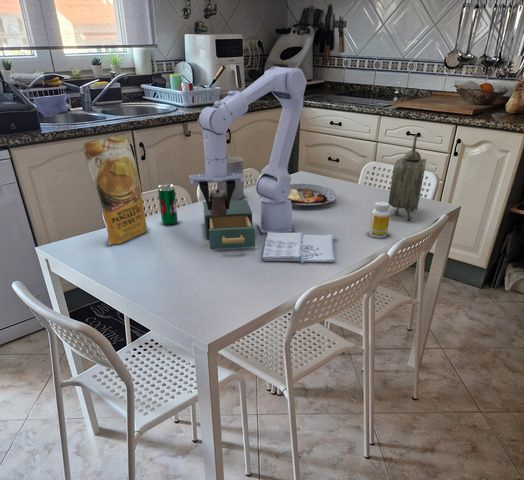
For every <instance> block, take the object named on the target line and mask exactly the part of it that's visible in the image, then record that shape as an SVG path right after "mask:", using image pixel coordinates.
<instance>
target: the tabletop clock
mask: <svg viewBox="0 0 524 480" xmlns="http://www.w3.org/2000/svg"><path fill="white" fill-rule="evenodd" d="M417 140H418V135H417V134H415V135H414V138H413V142H412V147H411V150H410V151H409V150H408V151H407V152H406V153H405V154H404V156H403V157H400V158H399V159H396V160H395V163H394V165H393V171H392V174H391V175H392V177H391V182H390V188H389V189H390V190H389V197H388V203H389V206H391V207H392V208H395V209H396V210H394V211H393V214H394V215H395V216H399V213H400V211H399V209H404V210H405V213H406V214H407V217H406V221H407V222H412V221H413V217H412V216H410V212H414V211H415V210H416V211H417V210H418V208H419V207H418V206H419V203H420V198H421V192H422V185H423V181H424V176H425V169H426V165H427V159H426V158H422V157H421V153H420V152H419V151H417V150H416V149H417Z"/></svg>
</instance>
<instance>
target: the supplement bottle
mask: <svg viewBox="0 0 524 480" xmlns="http://www.w3.org/2000/svg"><path fill="white" fill-rule="evenodd" d="M389 209H390V204H389V202H386V201H377V202H375V204H374V209H373V210H372V211H371V217H370V223H369V231H368V233H369V236H371V237H372V238H378V239H381V238H382V239H383V238H385V237H387V235H388V231H389V225H390V218H391V211H390V210H389Z"/></svg>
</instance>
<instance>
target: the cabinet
mask: <svg viewBox="0 0 524 480" xmlns="http://www.w3.org/2000/svg"><path fill="white" fill-rule="evenodd" d="M202 206H203V220H204V221H203V222H204V230H205V236H206V240H209V229H210V225H209V218H210V217H216V216H212V215H211V213H210V210H208V207H207V203H206V201H202ZM230 216H248V218H249V220H250V223H251V227H253V212H252V208H251V206H250V204H249V202H248V199H239V200H230V205H229V209H227V214H226V215H225V216H220V217H230Z"/></svg>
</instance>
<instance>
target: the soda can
mask: <svg viewBox="0 0 524 480" xmlns="http://www.w3.org/2000/svg"><path fill="white" fill-rule="evenodd" d="M157 193H158V194H157V195H158V200H159V209H160V217H161V218H160V219H161V222H162V224H163V225H165V226H174V225H176V224H177V223H178V222H179V220H178V219H179V218H178V211H177V210H178V209H177V202H176V192H175V187H174V185H173V184H172V183H161V184H159V185H158V188H157Z"/></svg>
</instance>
